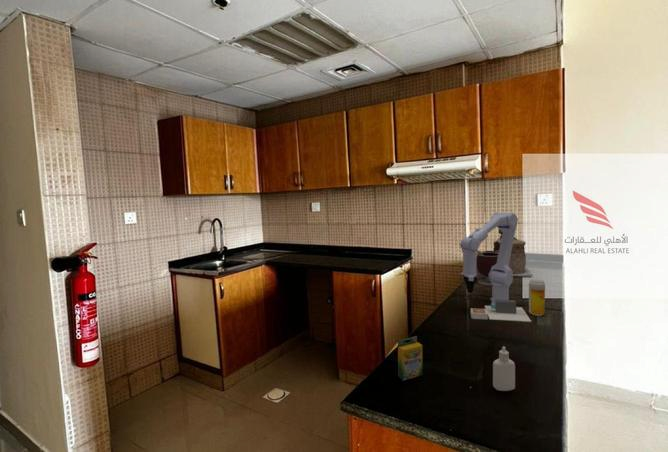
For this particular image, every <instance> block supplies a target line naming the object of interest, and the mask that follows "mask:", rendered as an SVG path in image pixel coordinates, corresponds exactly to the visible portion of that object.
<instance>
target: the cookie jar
mask: <svg viewBox="0 0 668 452" xmlns="http://www.w3.org/2000/svg"><path fill="white" fill-rule="evenodd" d="M497 230H498V234H499V238H498V239H496V240H494V241H493V253H499V249H500V244H501V238H502V231H501V230H500V229H499V228H498V229H497ZM525 246H526V241H525V240H520V239H517V238H516V237H515V236H514V240H513V245H512V251H511V256H510V261H509V267H510V268H511V270H512V271H513V277H522V278H523V277H524V278H525V277H526V278H527V277H529V278H533V273H532V272H531V271H530V270H529V269H528V267H526V264H527V260H526V251H525V249H526V248H525ZM501 271H502V272H504V271H503V270H501Z"/></svg>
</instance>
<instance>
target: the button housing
mask: <svg viewBox="0 0 668 452" xmlns="http://www.w3.org/2000/svg"><path fill="white" fill-rule="evenodd" d="M474 309H476V308H473V307H471V308H470V317H471V319H473V320H489V317H488V314H487V311H486V309H485V308H482V309H483V311H484V313H474Z"/></svg>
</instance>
